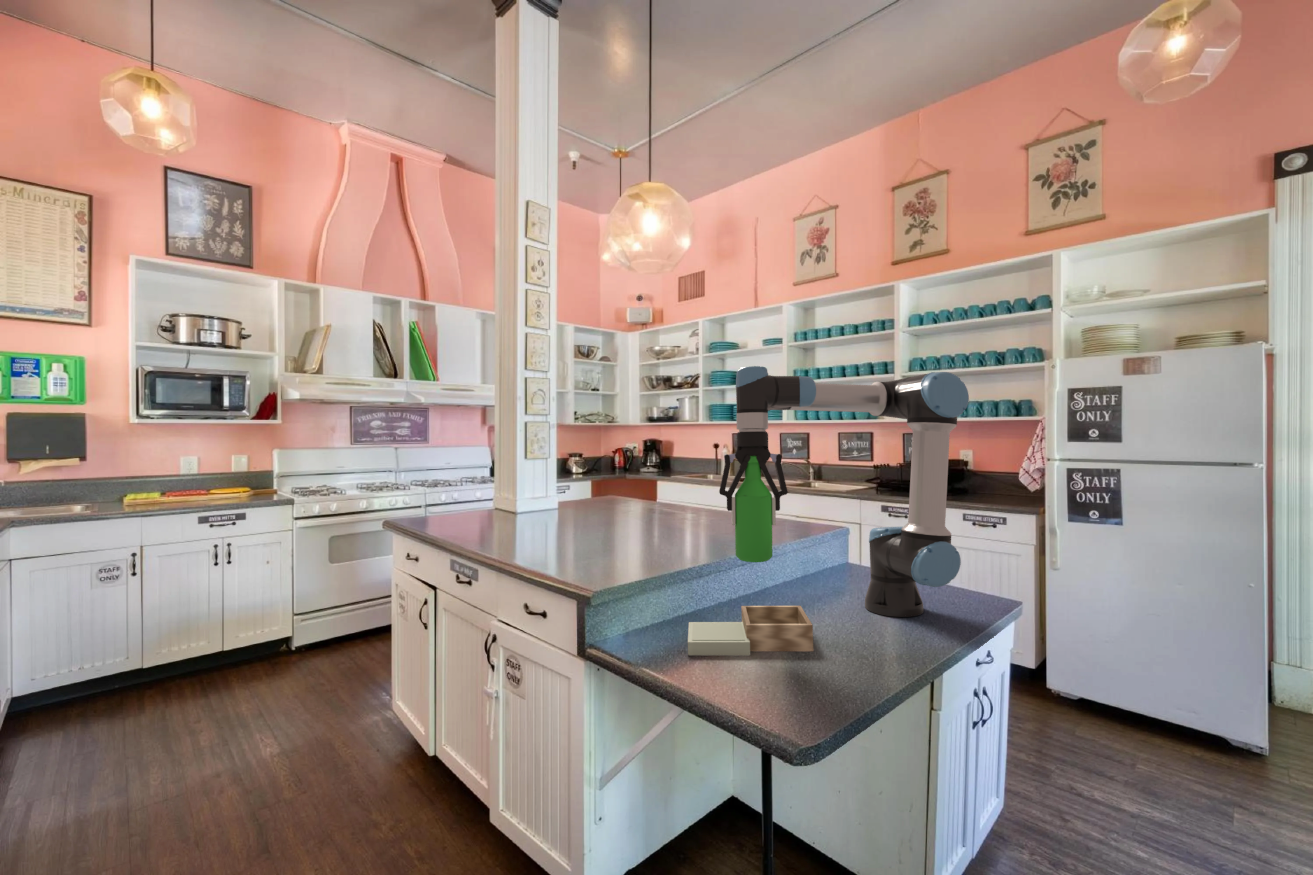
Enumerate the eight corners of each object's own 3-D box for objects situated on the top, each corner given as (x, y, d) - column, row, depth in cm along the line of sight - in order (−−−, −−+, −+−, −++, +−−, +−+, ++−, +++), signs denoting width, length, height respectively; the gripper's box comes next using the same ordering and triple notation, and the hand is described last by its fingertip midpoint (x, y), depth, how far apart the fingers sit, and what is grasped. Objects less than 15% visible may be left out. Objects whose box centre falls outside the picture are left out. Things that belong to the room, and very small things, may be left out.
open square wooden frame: (801, 629, 142) (800, 605, 142) (813, 651, 127) (812, 625, 127) (741, 629, 143) (741, 605, 143) (747, 651, 128) (746, 625, 129)
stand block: (745, 633, 140) (744, 621, 140) (750, 655, 126) (749, 641, 126) (689, 633, 141) (688, 621, 141) (688, 655, 127) (687, 641, 127)
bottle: (762, 564, 129) (760, 456, 129) (729, 560, 134) (727, 456, 134) (778, 558, 136) (777, 455, 136) (746, 554, 141) (745, 455, 141)
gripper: (794, 430, 138) (796, 522, 138) (707, 431, 140) (708, 522, 139) (800, 430, 131) (801, 526, 130) (707, 431, 132) (708, 526, 132)
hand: (753, 524), depth 135 cm, fingers closed on bottle, 9 cm apart
